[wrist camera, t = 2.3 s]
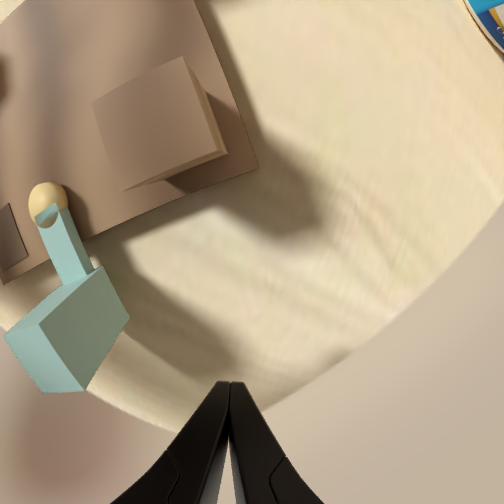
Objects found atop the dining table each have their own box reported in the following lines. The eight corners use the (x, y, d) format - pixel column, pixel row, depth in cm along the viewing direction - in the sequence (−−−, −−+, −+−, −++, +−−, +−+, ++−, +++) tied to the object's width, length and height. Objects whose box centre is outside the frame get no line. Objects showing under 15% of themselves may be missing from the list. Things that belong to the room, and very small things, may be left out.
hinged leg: (28, 196, 11) (-47, 221, 6) (64, 170, 11) (-19, 186, 6) (90, 328, 14) (42, 393, 8) (130, 317, 13) (84, 390, 8)
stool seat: (13, 278, 14) (-38, 315, 9) (-32, 73, 9) (-78, 70, 3) (258, 167, 13) (266, 172, 7) (161, -68, 7) (138, -117, 2)
